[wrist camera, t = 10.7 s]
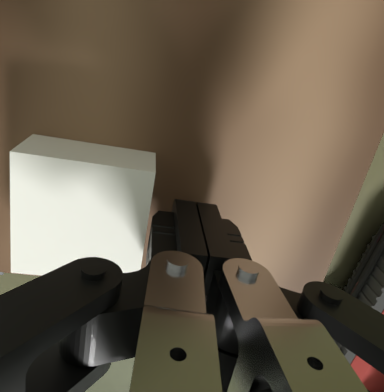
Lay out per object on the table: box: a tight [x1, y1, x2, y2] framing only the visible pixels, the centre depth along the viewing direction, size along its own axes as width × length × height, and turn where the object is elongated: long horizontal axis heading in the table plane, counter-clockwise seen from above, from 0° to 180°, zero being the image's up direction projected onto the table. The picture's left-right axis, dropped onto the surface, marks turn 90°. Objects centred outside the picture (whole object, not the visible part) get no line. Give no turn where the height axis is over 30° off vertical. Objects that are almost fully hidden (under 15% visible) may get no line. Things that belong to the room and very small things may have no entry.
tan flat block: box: [0, 0, 384, 293], centre depth 13 cm, size 13×12×3 cm
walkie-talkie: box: [340, 223, 384, 392], centre depth 20 cm, size 9×4×20 cm
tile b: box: [10, 134, 156, 276], centre depth 12 cm, size 4×4×2 cm
